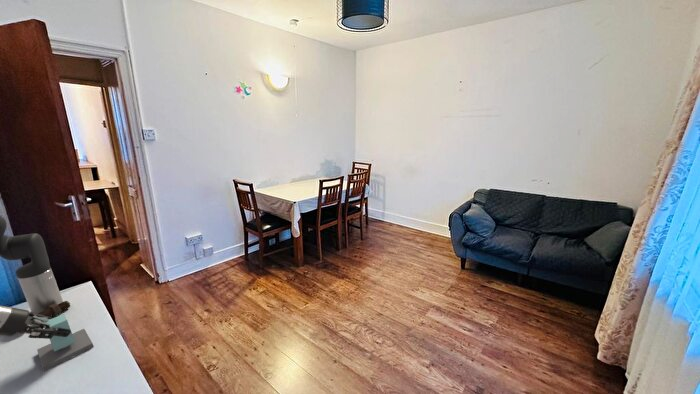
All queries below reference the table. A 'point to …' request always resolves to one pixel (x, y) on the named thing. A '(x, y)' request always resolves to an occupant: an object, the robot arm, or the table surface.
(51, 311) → the bolt
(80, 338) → the base plate
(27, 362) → the table surface
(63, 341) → the block
